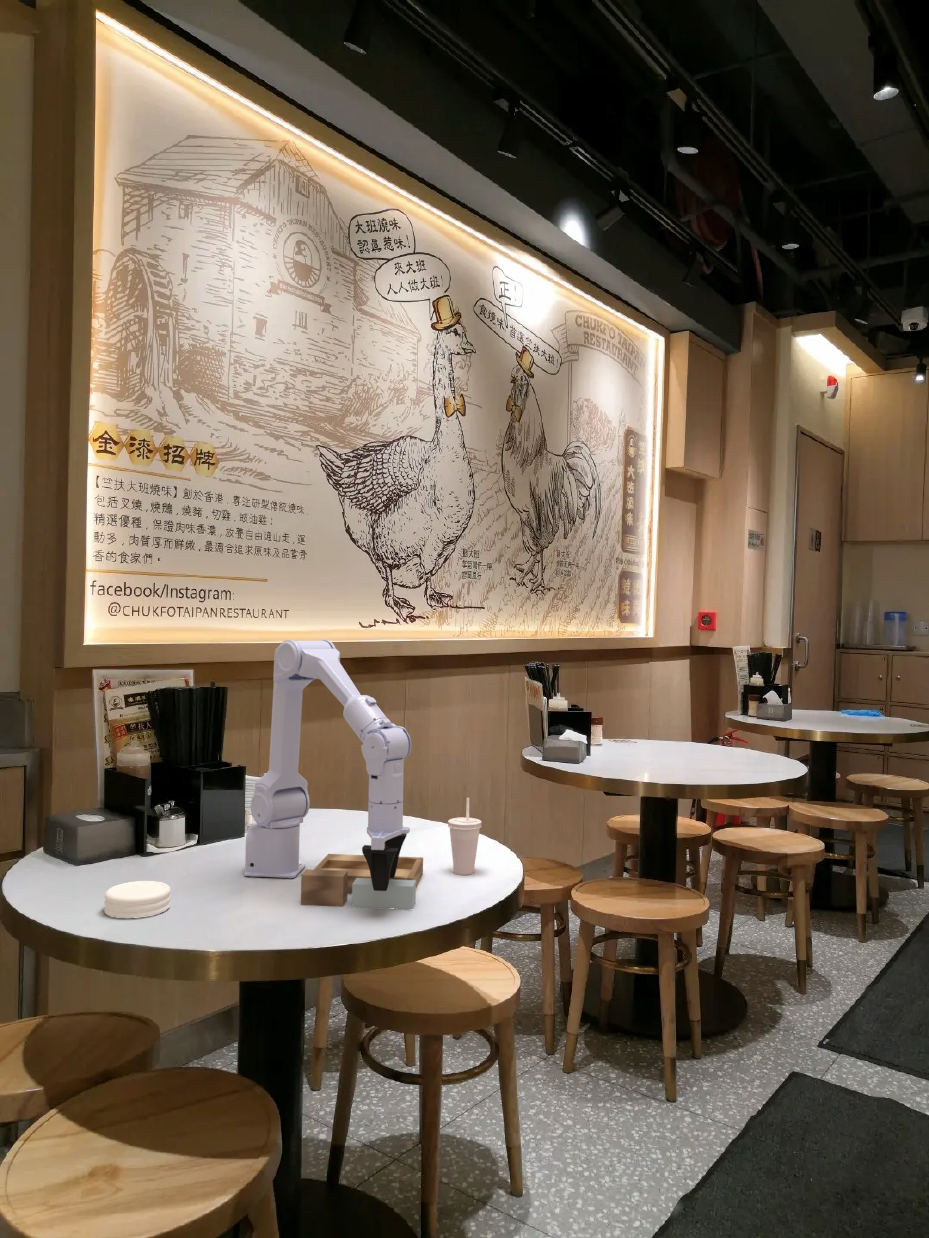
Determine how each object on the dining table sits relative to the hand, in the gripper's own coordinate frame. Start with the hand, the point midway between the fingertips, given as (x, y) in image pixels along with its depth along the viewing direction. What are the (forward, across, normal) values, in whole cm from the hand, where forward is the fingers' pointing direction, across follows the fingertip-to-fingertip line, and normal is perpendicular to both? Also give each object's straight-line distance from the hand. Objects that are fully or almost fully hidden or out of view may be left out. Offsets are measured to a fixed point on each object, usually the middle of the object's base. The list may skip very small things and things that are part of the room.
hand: (384, 883), depth 146 cm
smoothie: (+4, +22, -11) cm, 25 cm away
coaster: (+4, -7, +39) cm, 39 cm away
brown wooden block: (+4, 0, +10) cm, 11 cm away
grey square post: (+4, 0, 0) cm, 4 cm away
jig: (+3, +13, +5) cm, 14 cm away
